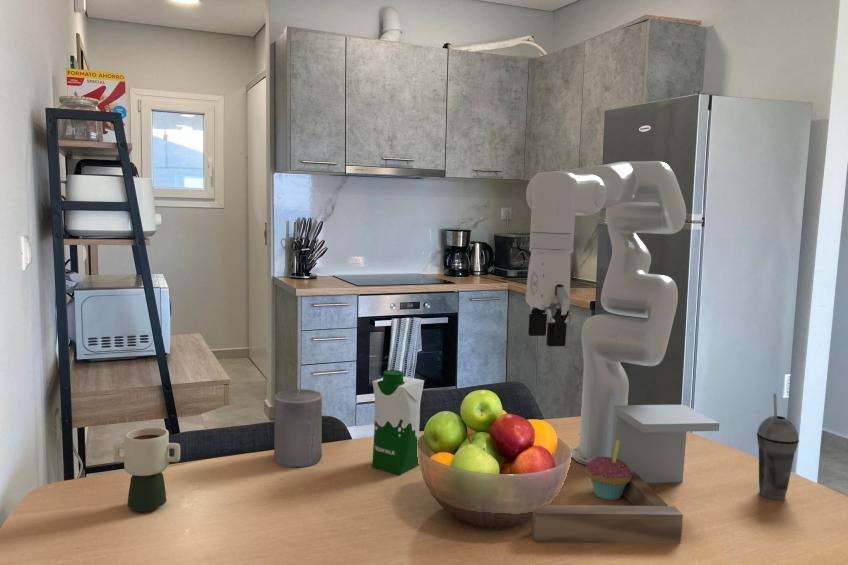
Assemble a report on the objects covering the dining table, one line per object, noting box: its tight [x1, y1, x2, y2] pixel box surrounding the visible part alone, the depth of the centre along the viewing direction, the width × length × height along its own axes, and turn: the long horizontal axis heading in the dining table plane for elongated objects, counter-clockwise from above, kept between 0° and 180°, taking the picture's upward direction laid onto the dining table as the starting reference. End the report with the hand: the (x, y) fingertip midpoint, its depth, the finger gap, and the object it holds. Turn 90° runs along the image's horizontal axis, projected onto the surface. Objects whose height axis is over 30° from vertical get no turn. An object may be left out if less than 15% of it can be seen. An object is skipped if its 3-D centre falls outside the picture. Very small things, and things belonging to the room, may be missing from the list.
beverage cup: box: [756, 393, 800, 501], centre depth 132 cm, size 7×7×20 cm
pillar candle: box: [273, 388, 323, 468], centre depth 142 cm, size 10×10×15 cm
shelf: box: [611, 404, 720, 484], centre depth 132 cm, size 12×15×16 cm
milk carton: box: [371, 369, 425, 476], centre depth 140 cm, size 9×9×20 cm
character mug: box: [112, 426, 181, 512], centre depth 117 cm, size 11×7×13 cm, turn 97°
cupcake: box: [584, 437, 632, 501], centre depth 130 cm, size 9×8×12 cm
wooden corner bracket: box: [530, 471, 684, 544], centre depth 121 cm, size 21×24×5 cm
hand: (546, 340), depth 121 cm, fingers open, 9 cm apart
